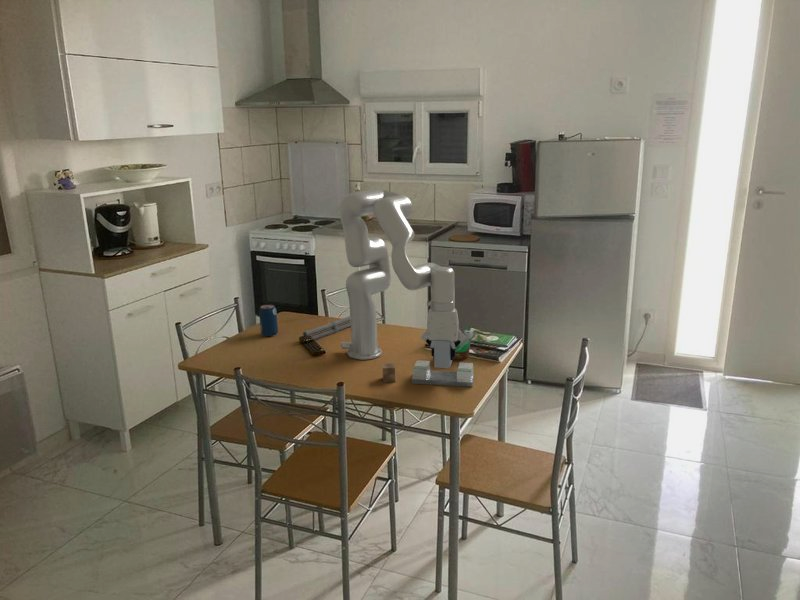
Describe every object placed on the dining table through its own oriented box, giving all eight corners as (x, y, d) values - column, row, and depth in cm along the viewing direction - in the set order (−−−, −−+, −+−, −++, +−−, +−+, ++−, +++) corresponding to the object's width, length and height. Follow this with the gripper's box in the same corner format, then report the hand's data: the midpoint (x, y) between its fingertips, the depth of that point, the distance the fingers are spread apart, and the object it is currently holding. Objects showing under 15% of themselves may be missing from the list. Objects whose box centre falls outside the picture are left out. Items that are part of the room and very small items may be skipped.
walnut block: (383, 382, 217) (382, 368, 215) (382, 377, 221) (382, 363, 219) (395, 381, 217) (394, 367, 216) (394, 377, 221) (394, 363, 220)
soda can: (282, 333, 267) (279, 305, 264) (270, 338, 261) (267, 309, 258) (269, 330, 271) (267, 303, 267) (257, 335, 265) (254, 307, 262)
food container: (439, 362, 233) (439, 335, 230) (438, 355, 239) (438, 329, 236) (474, 361, 232) (474, 335, 230) (472, 355, 238) (473, 329, 236)
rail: (411, 383, 215) (411, 368, 214) (415, 373, 223) (415, 359, 221) (472, 386, 211) (472, 371, 210) (474, 377, 219) (474, 362, 218)
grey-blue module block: (434, 367, 213) (434, 340, 210) (437, 359, 219) (437, 333, 217) (449, 367, 212) (449, 341, 209) (452, 360, 218) (452, 334, 216)
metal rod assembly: (307, 344, 255) (307, 332, 253) (303, 342, 256) (302, 330, 255) (353, 327, 273) (353, 315, 272) (349, 326, 275) (348, 314, 274)
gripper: (414, 308, 208) (416, 361, 213) (468, 309, 205) (468, 364, 210) (418, 301, 215) (419, 353, 220) (470, 303, 212) (470, 355, 217)
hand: (443, 358), depth 215 cm, fingers closed on grey-blue module block, 5 cm apart
